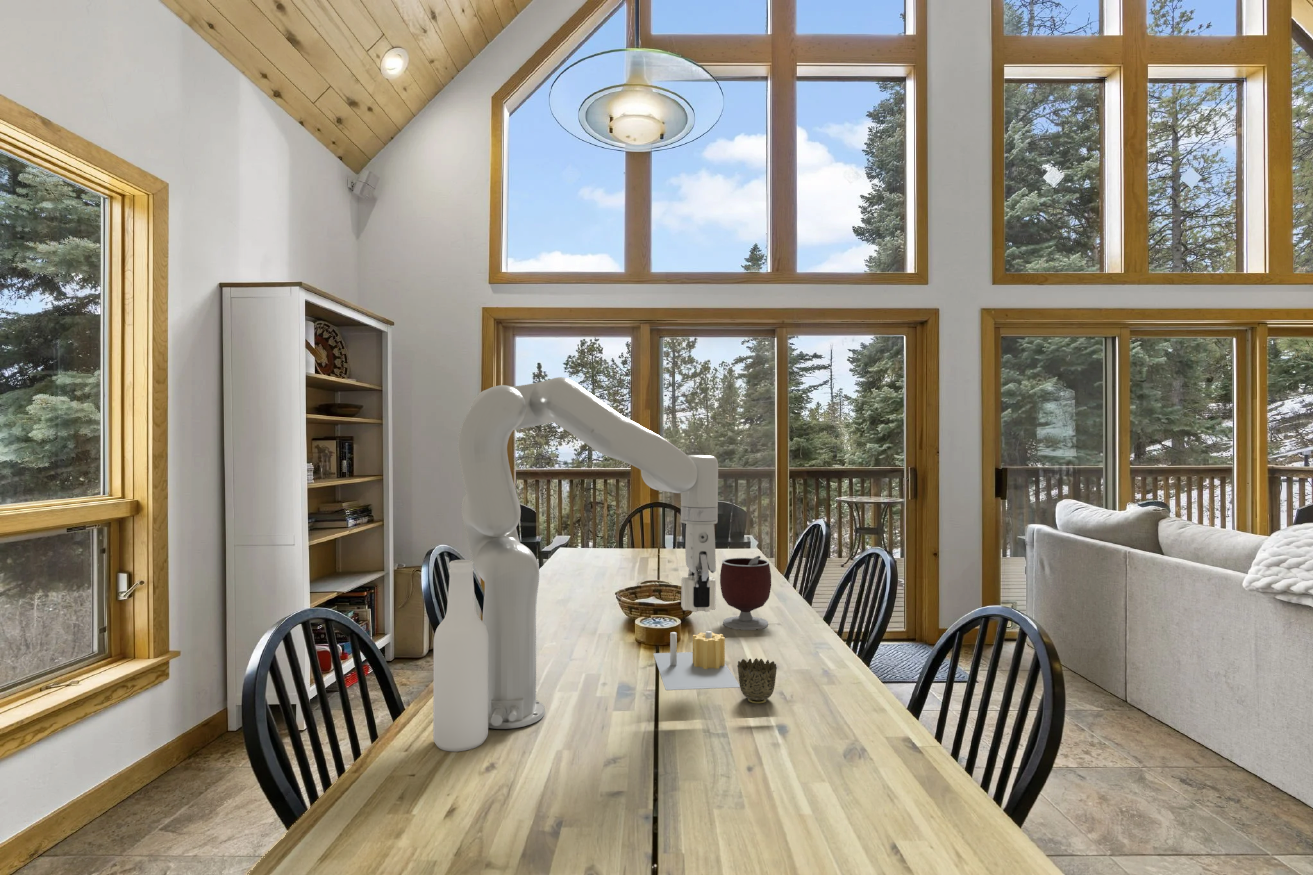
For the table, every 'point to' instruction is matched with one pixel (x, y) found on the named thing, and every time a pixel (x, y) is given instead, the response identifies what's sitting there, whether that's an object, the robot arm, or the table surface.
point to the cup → (757, 679)
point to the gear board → (690, 670)
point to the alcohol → (460, 667)
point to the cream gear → (687, 594)
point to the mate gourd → (745, 590)
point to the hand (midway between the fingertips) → (698, 601)
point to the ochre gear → (708, 651)
